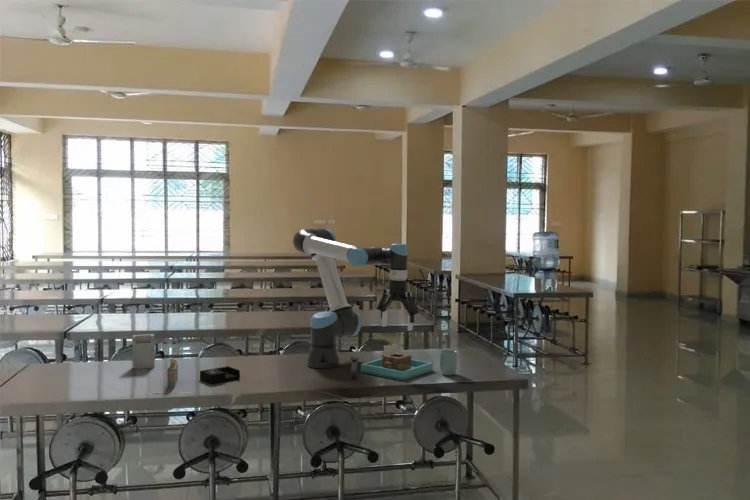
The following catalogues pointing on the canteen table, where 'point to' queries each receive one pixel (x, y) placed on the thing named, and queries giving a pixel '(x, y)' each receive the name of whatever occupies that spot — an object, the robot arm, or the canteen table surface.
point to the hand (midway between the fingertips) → (397, 328)
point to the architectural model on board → (172, 375)
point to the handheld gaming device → (143, 351)
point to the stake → (354, 367)
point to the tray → (415, 370)
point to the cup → (448, 362)
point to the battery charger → (219, 375)
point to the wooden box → (396, 361)
